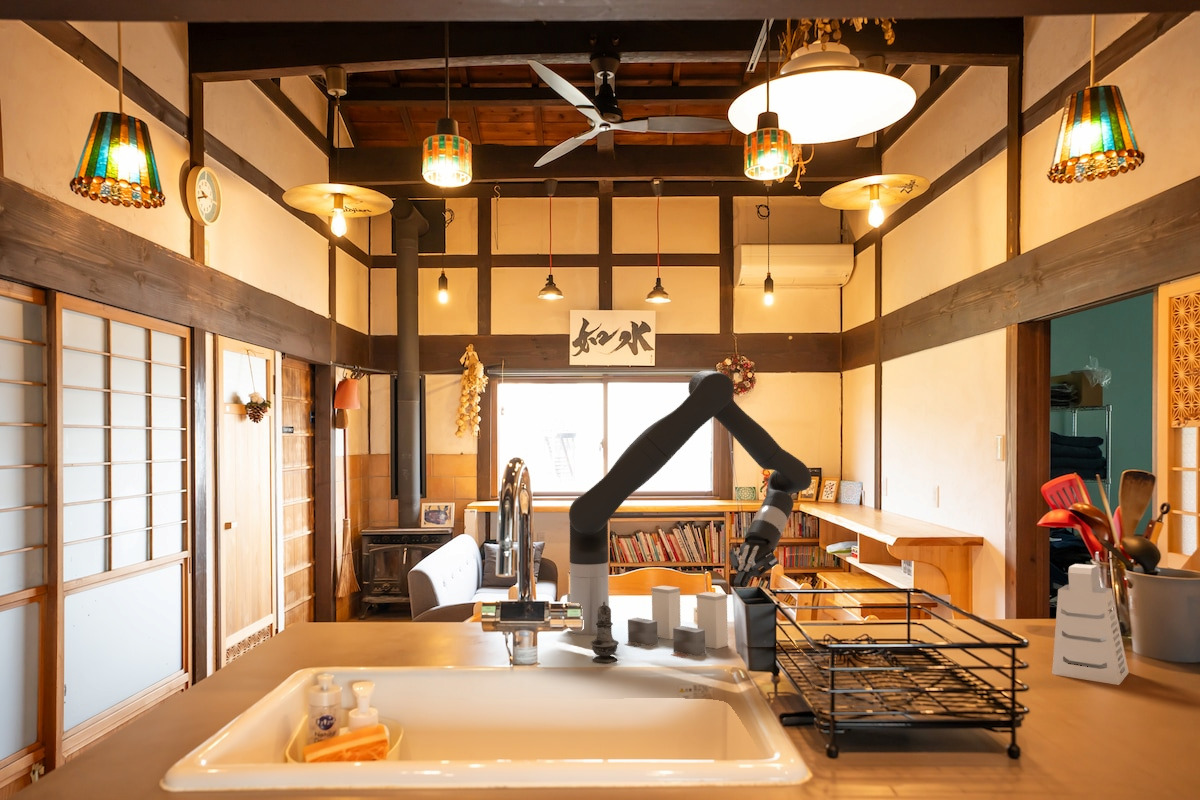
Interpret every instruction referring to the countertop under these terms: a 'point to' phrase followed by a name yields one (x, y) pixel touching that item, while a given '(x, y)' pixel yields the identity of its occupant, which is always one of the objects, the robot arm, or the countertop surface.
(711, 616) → the tall white box
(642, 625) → the dark grey rectangular blocks
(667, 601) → the tall cream pillar
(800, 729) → the countertop surface
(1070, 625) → the grater
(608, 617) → the salt shaker
